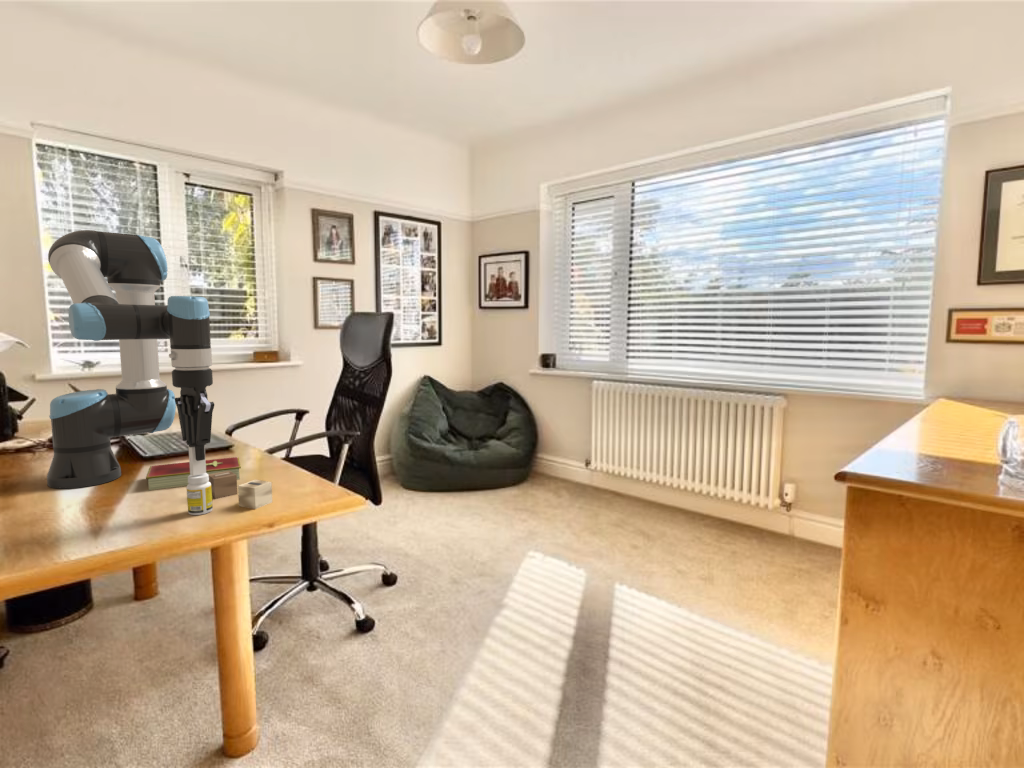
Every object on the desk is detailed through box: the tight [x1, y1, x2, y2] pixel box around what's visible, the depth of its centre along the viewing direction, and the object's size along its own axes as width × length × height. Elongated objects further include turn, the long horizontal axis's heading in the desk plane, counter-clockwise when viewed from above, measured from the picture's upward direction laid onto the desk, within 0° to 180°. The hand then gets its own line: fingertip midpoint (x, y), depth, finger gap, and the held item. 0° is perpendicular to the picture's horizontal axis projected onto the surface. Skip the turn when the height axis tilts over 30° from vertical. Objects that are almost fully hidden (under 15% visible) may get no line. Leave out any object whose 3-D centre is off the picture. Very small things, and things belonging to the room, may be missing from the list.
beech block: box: [237, 479, 273, 510], centre depth 123 cm, size 5×5×5 cm
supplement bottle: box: [186, 473, 213, 516], centre depth 117 cm, size 5×5×8 cm
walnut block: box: [208, 471, 238, 500], centre depth 129 cm, size 5×5×5 cm
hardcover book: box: [145, 456, 242, 491], centre depth 141 cm, size 12×21×4 cm, turn 120°
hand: (198, 473), depth 117 cm, fingers closed
